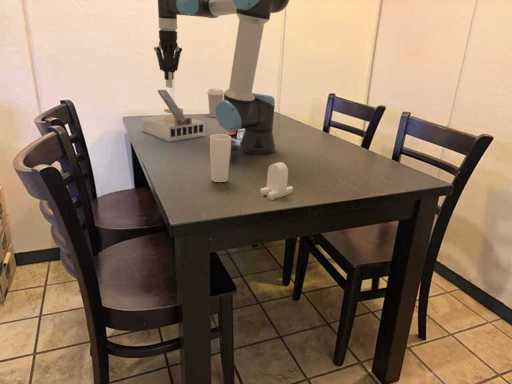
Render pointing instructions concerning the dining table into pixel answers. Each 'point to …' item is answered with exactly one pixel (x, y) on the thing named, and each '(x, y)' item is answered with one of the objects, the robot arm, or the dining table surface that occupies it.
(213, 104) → the coffee cup
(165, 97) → the strap
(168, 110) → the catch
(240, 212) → the dining table surface
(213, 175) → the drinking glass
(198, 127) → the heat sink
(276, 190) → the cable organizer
